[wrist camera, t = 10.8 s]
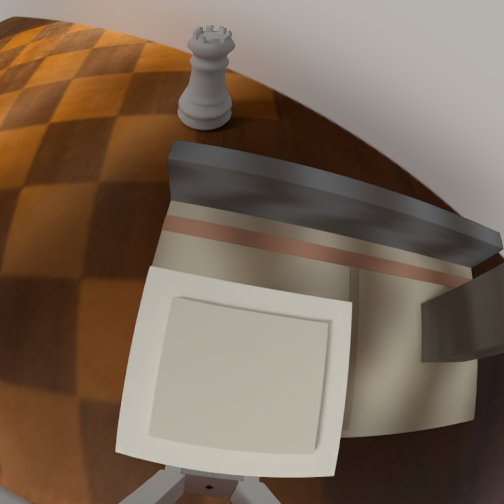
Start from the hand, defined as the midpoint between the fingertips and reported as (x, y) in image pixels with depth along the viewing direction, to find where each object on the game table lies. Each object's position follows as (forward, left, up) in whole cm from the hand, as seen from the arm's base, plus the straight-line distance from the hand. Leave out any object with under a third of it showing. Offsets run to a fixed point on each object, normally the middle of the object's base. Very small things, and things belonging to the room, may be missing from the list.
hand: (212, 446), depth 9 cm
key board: (+7, +7, -6) cm, 12 cm away
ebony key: (+15, +6, -5) cm, 17 cm away
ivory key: (0, +3, -5) cm, 5 cm away
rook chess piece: (-5, +22, -6) cm, 23 cm away
